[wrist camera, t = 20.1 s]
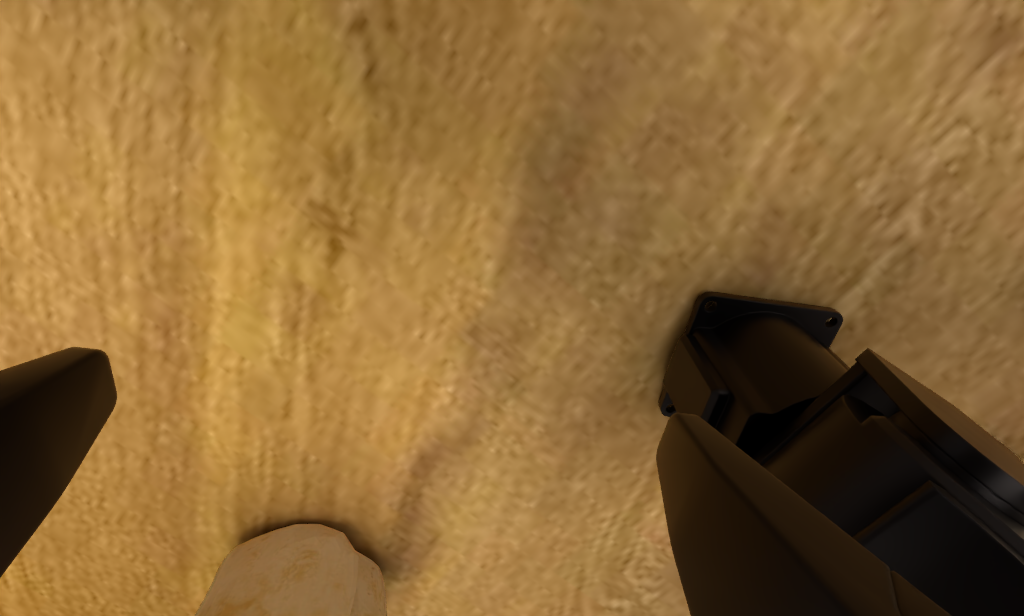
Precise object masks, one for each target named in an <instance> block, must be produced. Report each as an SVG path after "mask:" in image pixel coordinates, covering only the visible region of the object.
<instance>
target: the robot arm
mask: <svg viewBox="0 0 1024 616" xmlns="http://www.w3.org/2000/svg"><path fill="white" fill-rule="evenodd" d="M709 301H713V304H712V305H711V306H709V307H705V305H706V304H707V303H708V302H709ZM829 318H832V319H831V320H830V321H829V322H827V323H825V322H826V321H827V320H828V319H829ZM842 322H843V317H842V315H841V314H840V313H839V312H837V311H836V310H835V309H832V308H827V307H820V306H813V305H805V304H798V303H791V302H784V301H776V300H769V299H762V298H754V297H747V296H740V295H732V294H725V293H718V292H705V293H703V294H701V295H700V296H699V297H698V299H697V300H696V303H695V306H694V308H693V311H692V314H691V316H690V319H689V322H688V325H687V327H686V330H685V333H684V334H683V335H682V336H681V337H680V338H679V339H678V341H677V344H676V347H675V350H674V352H673V355H672V358H671V360H670V363H669V366H668V369H667V371H666V374H665V377H664V380H663V384H664V386H665V387H664V389H663V392H662V395H661V397H660V400H659V404H658V405H659V408H660V410H661V412H662V414H663V415H664V416H668V417H670V418H669V420H668V423H667V425H666V428H665V430H664V433H663V435H662V438H661V441H660V443H659V446H658V449H657V455H656V461H657V467H658V473H659V479H660V485H661V491H662V497H663V502H664V508H665V514H666V520H667V526H668V532H669V537H670V542H671V546H672V550H673V554H674V558H675V562H676V565H677V569H678V572H679V576H680V579H681V583H682V586H683V590H684V593H685V597H686V600H687V604H688V607H689V611H690V614H691V616H1024V464H1023V463H1022V462H1021V461H1020V460H1019V458H1018V457H1017V456H1016V455H1015V454H1014V453H1013V452H1011V451H1010V450H1009V449H1008V448H1007V447H1005V446H1004V445H1003V444H1002V443H1000V442H999V441H998V440H996V439H995V438H994V437H993V436H991V435H990V434H989V433H988V432H986V431H985V430H984V429H983V428H981V427H980V426H979V425H978V424H976V423H975V422H974V421H973V420H971V419H970V418H969V417H968V416H966V415H965V414H964V413H963V412H961V411H960V410H959V409H957V408H956V407H955V406H954V405H952V404H951V403H949V402H948V401H946V400H945V399H943V398H942V397H940V396H939V395H937V394H936V393H934V392H933V391H931V390H930V389H928V388H927V387H926V386H924V385H923V384H921V383H920V382H918V381H917V380H915V379H914V378H912V377H911V376H909V375H908V374H906V373H905V372H903V371H902V370H900V369H899V368H897V367H896V366H894V365H893V364H891V363H890V362H888V361H887V360H885V359H884V358H882V357H881V356H879V355H878V354H876V353H875V352H873V351H872V350H870V349H869V348H867V349H866V350H865V351H864V352H863V353H861V354H860V355H859V356H858V357H857V358H856V359H855V360H856V361H857V362H856V363H855V364H854V365H853V366H852V367H851V368H849V367H848V366H847V365H846V364H845V363H844V362H843V361H842V360H841V359H840V358H839V357H838V356H837V355H835V354H834V353H833V352H832V351H831V350H830V349H829V347H830V345H831V343H832V341H833V340H834V338H835V336H836V334H837V332H838V330H839V328H840V326H841V324H842ZM116 400H117V391H116V387H115V383H114V379H113V374H112V370H111V366H110V362H109V358H108V356H107V355H106V353H105V352H103V351H101V350H98V349H89V348H80V347H71V348H67V349H64V350H61V351H58V352H55V353H52V354H49V355H46V356H43V357H40V358H37V359H34V360H31V361H28V362H25V363H22V364H19V365H16V366H13V367H10V368H7V369H4V370H1V371H0V577H1V576H2V575H3V573H4V572H5V571H6V569H7V568H8V567H9V565H10V564H11V563H12V561H13V560H14V559H15V557H16V556H17V555H18V553H19V552H20V551H21V549H22V548H23V547H24V545H25V544H26V543H27V541H28V540H29V539H30V537H31V536H32V535H33V533H34V532H35V531H36V529H37V528H38V527H39V525H40V524H41V523H42V521H43V520H44V519H45V517H46V516H47V515H48V513H49V512H50V511H51V509H52V508H53V506H54V505H55V504H56V502H57V501H58V499H59V498H60V496H61V495H62V493H63V492H64V490H65V489H66V487H67V486H68V484H69V483H70V481H71V479H72V478H73V476H74V474H75V473H76V471H77V469H78V468H79V466H80V464H81V463H82V461H83V459H84V458H85V456H86V454H87V453H88V451H89V449H90V448H91V446H92V444H93V443H94V441H95V439H96V438H97V436H98V434H99V433H100V431H101V429H102V428H103V426H104V424H105V423H106V421H107V419H108V418H109V416H110V414H111V413H112V411H113V409H114V407H115V404H116ZM670 404H673V406H671V407H667V406H668V405H670Z"/></svg>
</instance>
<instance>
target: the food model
mask: <svg viewBox="0 0 1024 616" xmlns="http://www.w3.org/2000/svg"><path fill="white" fill-rule="evenodd" d="M195 616H387V606H386V592H385V584H384V578H383V575H382V573H381V570H380V568H379V566H378V565H377V564H375V563H374V562H373V561H372V560H371V559H369V558H367V557H366V556H364V555H362V554H361V553H359V552H357V551H355V550H354V548H353V546H352V545H351V543H350V542H349V540H348V538H347V537H346V535H345V534H344V533H342V532H340V531H337V530H335V529H332V528H329V527H327V526H324V525H321V524H295V525H291V526H288V527H284V528H281V529H277V530H274V531H271V532H269V533H266V534H263V535H260V536H258V537H255V538H252V539H250V540H248V541H247V542H244V543H242V544H239V545H237V546H236V547H235V548H234V549H233V550H232V551H231V552H230V553H229V554H228V555H227V556H226V558H225V559H224V560H223V562H222V563H221V565H220V567H219V568H218V571H217V573H216V575H215V578H214V580H213V582H212V584H211V586H210V588H209V590H208V592H207V594H206V596H205V598H204V600H203V602H202V604H201V605H200V607H199V609H198V610H197V612H196V614H195Z"/></svg>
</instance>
